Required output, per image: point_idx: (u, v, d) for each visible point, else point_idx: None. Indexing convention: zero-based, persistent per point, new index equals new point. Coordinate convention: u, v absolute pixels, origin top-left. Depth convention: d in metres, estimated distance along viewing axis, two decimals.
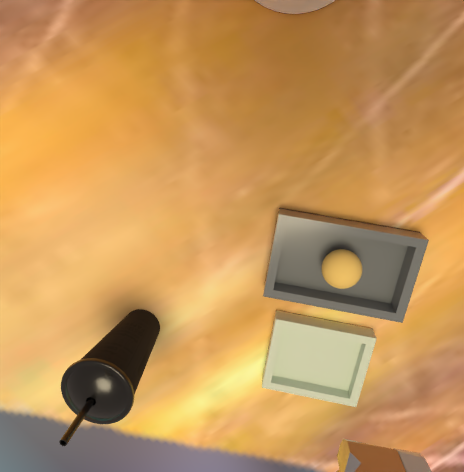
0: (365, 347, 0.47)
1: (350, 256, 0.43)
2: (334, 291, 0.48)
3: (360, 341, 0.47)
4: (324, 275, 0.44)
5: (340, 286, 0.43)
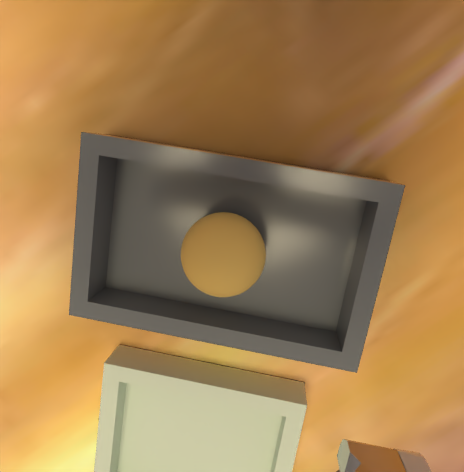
0: (286, 423, 0.23)
1: (234, 222, 0.19)
2: (223, 306, 0.24)
3: (275, 411, 0.23)
4: (183, 267, 0.20)
5: (213, 289, 0.19)
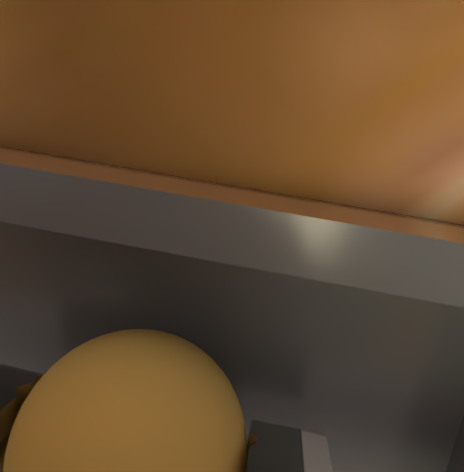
0: None
1: (146, 387, 0.06)
2: None
3: None
4: None
5: None
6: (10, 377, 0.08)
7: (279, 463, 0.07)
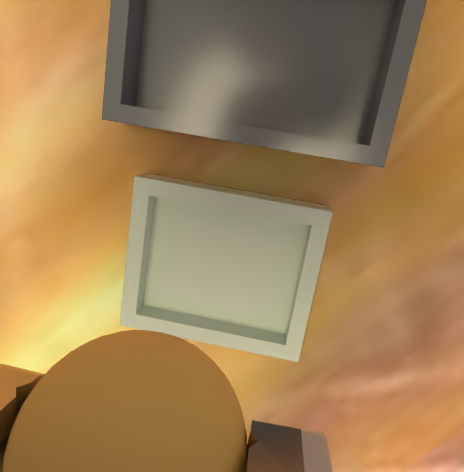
0: (311, 233, 0.24)
1: (146, 388, 0.06)
2: (250, 122, 0.24)
3: (301, 219, 0.23)
4: None
5: None
6: (10, 377, 0.08)
7: (279, 462, 0.07)
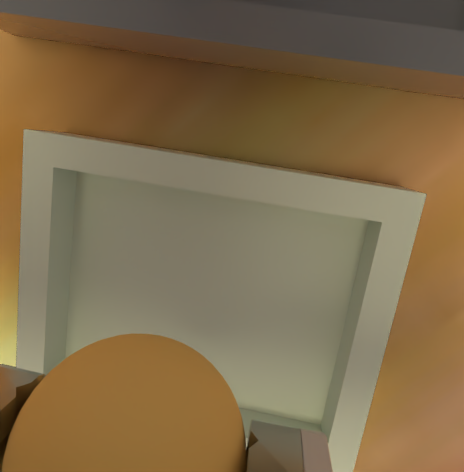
0: (380, 238, 0.12)
1: (145, 393, 0.06)
2: None
3: (359, 210, 0.11)
4: None
5: None
6: (10, 377, 0.08)
7: (279, 463, 0.07)
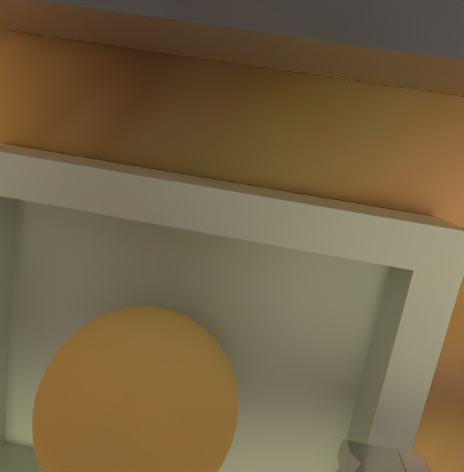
0: (411, 291, 0.09)
1: (145, 348, 0.08)
2: None
3: (383, 254, 0.08)
4: None
5: None
6: None
7: None
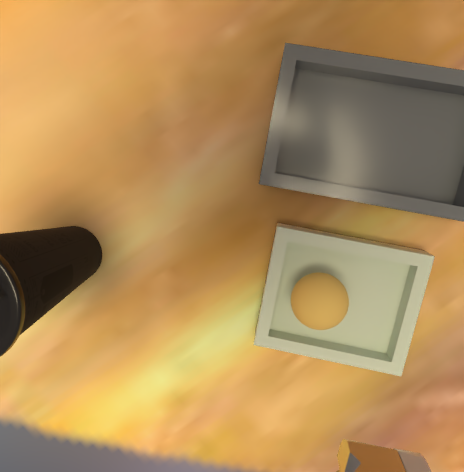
0: (417, 272, 0.30)
1: (320, 278, 0.30)
2: (366, 186, 0.31)
3: (409, 262, 0.30)
4: None
5: (300, 319, 0.30)
6: None
7: None
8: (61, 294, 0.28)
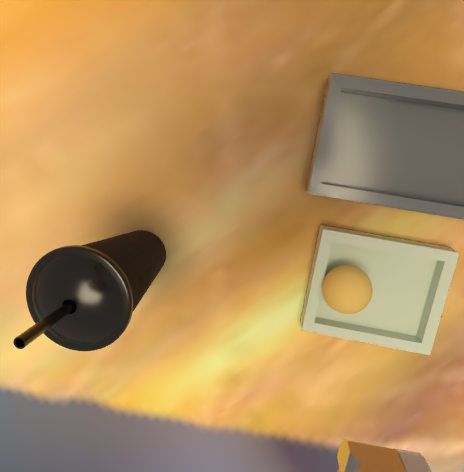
0: (444, 266, 0.35)
1: (343, 268, 0.35)
2: (399, 192, 0.36)
3: (437, 257, 0.35)
4: None
5: (325, 300, 0.36)
6: None
7: None
8: (145, 290, 0.33)
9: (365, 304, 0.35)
